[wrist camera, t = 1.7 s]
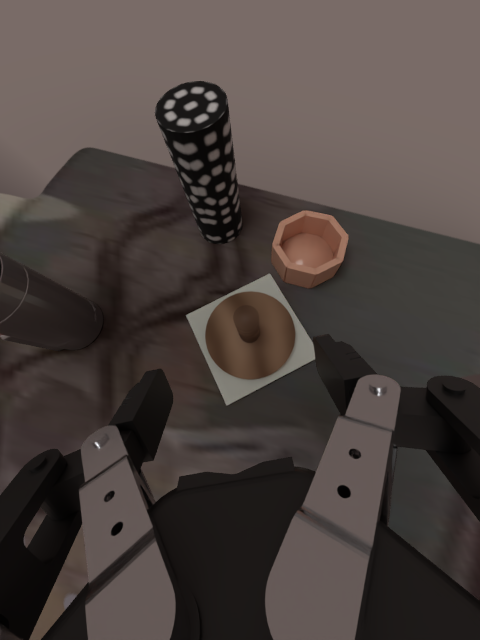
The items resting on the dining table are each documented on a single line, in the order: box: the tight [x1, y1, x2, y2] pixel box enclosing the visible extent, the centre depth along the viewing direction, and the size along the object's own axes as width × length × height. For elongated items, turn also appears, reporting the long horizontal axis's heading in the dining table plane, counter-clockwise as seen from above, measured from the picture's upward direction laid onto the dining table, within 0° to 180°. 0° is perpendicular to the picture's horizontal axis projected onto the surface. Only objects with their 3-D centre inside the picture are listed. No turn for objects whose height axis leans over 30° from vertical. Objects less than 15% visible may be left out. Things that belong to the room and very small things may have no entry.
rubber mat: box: [186, 274, 315, 405], centre depth 38 cm, size 16×16×1 cm
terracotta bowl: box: [271, 210, 349, 288], centre depth 40 cm, size 11×11×5 cm
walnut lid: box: [205, 291, 295, 380], centre depth 34 cm, size 14×14×9 cm
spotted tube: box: [155, 81, 242, 244], centre depth 36 cm, size 8×8×20 cm
